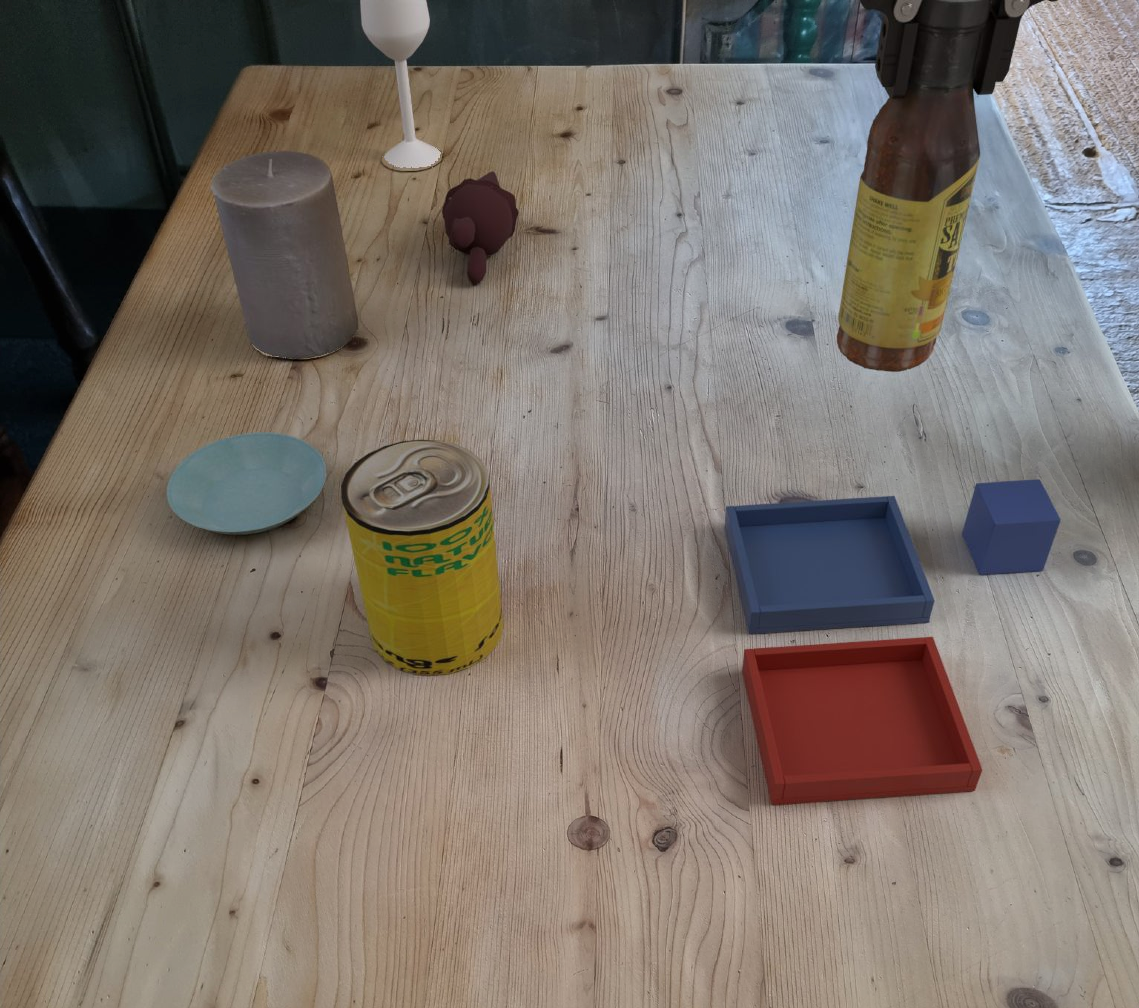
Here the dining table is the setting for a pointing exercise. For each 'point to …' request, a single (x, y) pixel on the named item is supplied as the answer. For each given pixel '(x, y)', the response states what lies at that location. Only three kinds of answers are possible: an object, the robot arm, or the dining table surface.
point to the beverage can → (425, 554)
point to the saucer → (246, 483)
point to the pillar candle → (287, 252)
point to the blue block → (1010, 526)
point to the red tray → (857, 721)
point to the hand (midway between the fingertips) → (938, 89)
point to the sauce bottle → (914, 197)
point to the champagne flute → (400, 66)
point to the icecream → (479, 221)
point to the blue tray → (826, 565)
